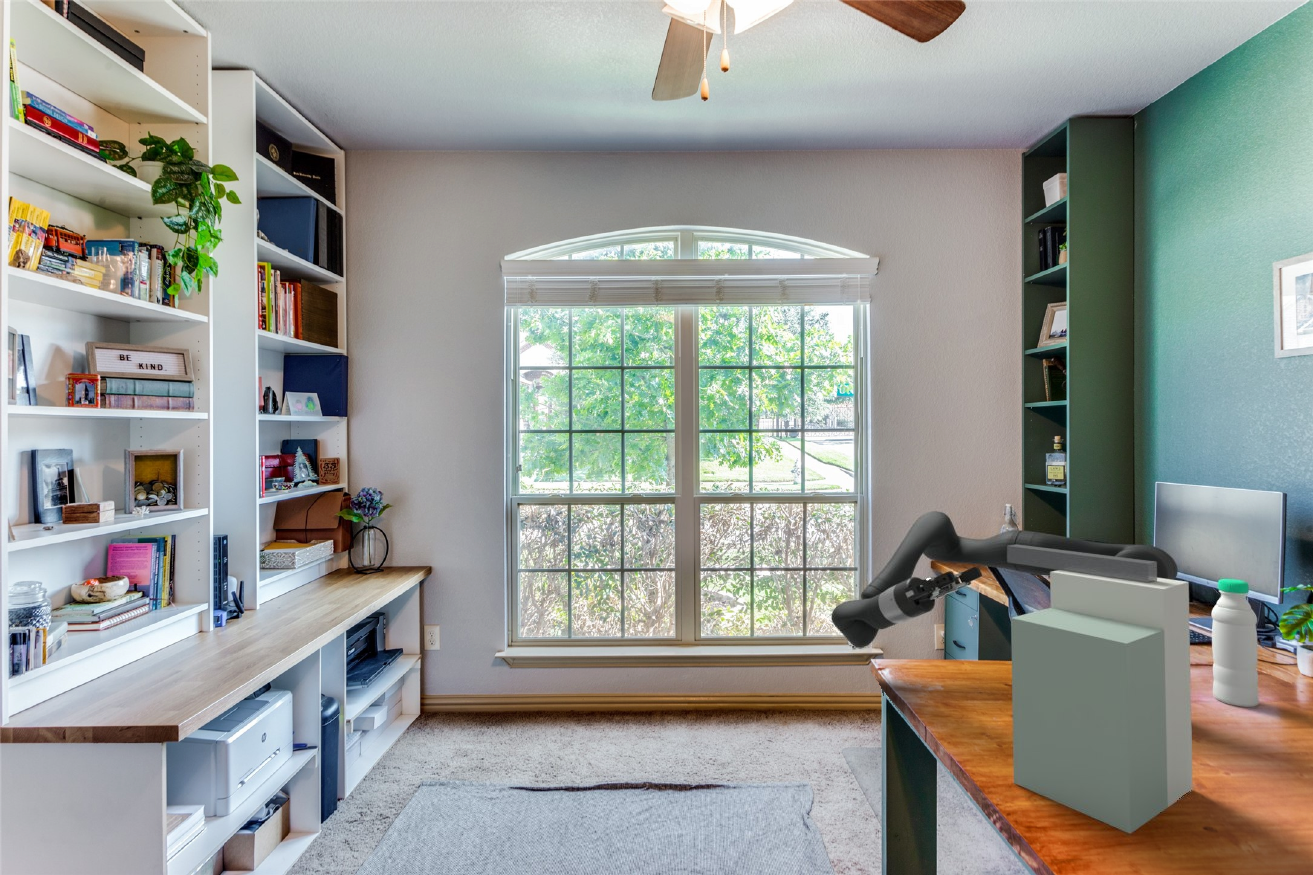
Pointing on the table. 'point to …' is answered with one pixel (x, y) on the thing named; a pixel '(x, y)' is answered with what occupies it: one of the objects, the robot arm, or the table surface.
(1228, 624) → the water bottle
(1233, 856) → the table surface
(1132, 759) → the stepped stand
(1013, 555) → the steel bar
